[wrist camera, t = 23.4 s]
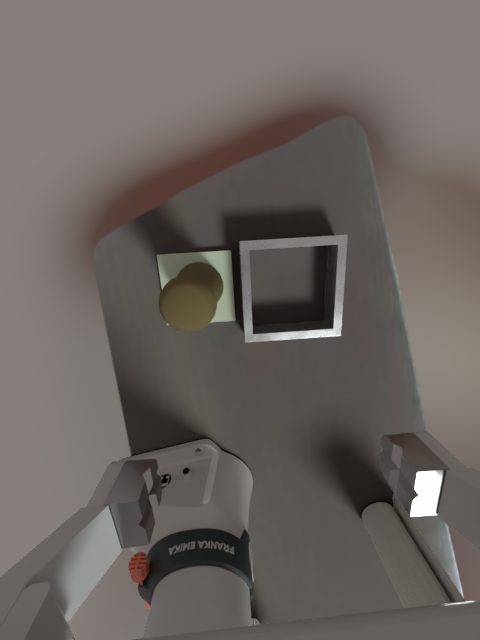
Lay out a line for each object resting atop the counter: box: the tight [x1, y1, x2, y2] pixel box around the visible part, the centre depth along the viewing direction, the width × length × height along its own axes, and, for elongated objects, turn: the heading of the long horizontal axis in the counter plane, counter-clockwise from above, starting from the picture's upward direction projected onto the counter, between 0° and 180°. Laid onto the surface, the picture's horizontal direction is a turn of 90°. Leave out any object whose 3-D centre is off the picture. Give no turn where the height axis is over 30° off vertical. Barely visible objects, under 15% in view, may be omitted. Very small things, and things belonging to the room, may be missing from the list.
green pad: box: [157, 250, 236, 325], centre depth 32 cm, size 9×9×1 cm
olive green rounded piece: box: [159, 262, 223, 332], centre depth 27 cm, size 6×6×11 cm
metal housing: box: [238, 235, 348, 342], centre depth 31 cm, size 12×12×4 cm
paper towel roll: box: [362, 495, 465, 608], centre depth 36 cm, size 7×6×21 cm
